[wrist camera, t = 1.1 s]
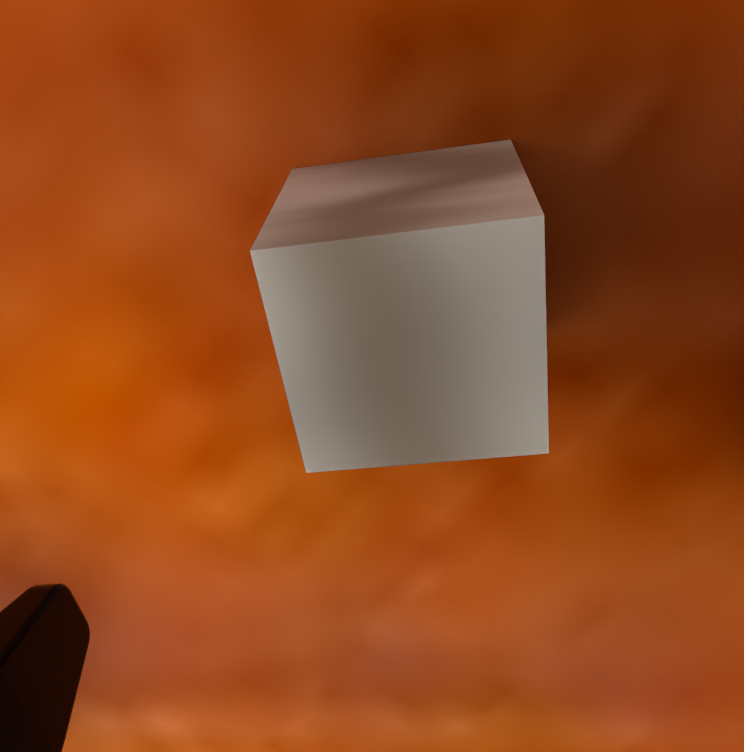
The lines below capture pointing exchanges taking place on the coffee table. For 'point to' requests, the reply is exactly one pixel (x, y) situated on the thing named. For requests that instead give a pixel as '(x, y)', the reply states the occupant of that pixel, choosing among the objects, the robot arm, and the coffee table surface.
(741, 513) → the coffee table surface
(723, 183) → the coffee table surface
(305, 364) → the cream cube
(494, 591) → the coffee table surface
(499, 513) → the coffee table surface
